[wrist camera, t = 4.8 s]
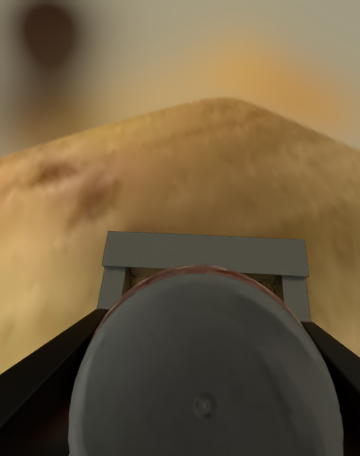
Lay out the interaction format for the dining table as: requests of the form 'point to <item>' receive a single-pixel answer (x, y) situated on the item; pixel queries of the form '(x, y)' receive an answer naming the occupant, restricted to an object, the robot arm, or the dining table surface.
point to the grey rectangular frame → (206, 262)
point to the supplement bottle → (203, 374)
